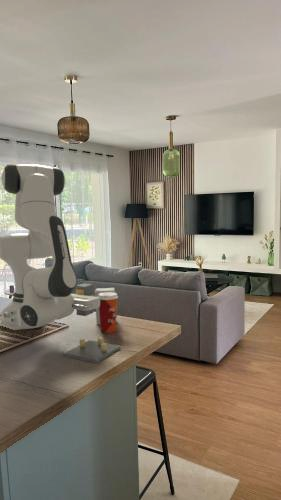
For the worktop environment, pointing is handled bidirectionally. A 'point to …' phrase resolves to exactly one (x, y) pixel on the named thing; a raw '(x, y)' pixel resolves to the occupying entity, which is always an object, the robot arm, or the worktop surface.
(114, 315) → the coffee cup
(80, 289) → the plug block
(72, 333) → the worktop surface
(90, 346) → the slate board
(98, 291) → the skincare box
